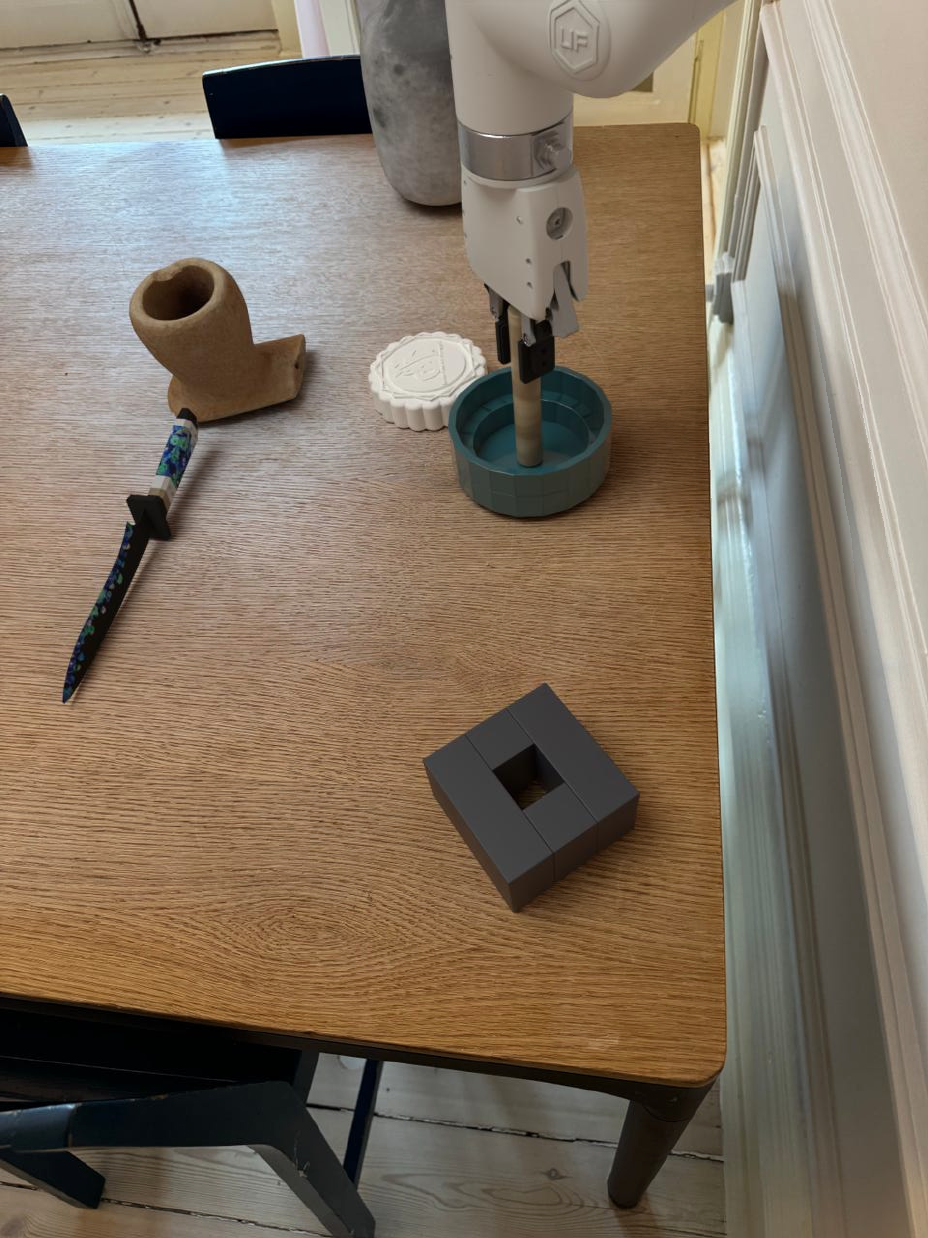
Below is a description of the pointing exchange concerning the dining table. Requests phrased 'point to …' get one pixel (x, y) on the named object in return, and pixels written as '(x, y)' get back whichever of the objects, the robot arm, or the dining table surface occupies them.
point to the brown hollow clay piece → (212, 342)
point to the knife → (135, 545)
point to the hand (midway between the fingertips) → (526, 364)
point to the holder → (553, 825)
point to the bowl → (568, 441)
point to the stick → (525, 401)
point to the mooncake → (424, 378)
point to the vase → (413, 99)
